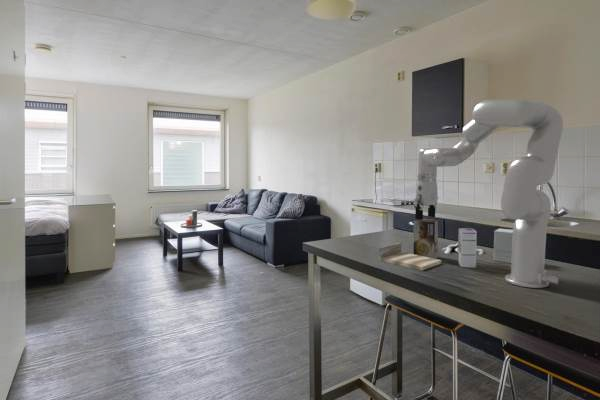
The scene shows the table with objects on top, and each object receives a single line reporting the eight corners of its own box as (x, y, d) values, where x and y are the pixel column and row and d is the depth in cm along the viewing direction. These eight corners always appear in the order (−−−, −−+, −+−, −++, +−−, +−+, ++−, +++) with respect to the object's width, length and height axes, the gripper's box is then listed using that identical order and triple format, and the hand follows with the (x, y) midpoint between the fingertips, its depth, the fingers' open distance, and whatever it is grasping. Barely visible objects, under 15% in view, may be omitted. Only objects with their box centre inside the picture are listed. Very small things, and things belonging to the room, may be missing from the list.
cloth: (456, 245, 183) (456, 233, 183) (492, 253, 168) (493, 239, 167) (426, 251, 171) (426, 238, 171) (463, 260, 156) (463, 246, 155)
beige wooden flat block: (441, 263, 149) (441, 250, 149) (421, 270, 140) (422, 256, 140) (397, 254, 165) (397, 242, 164) (377, 260, 156) (378, 247, 155)
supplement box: (517, 260, 154) (519, 230, 152) (512, 263, 148) (514, 232, 147) (497, 257, 159) (499, 227, 157) (492, 260, 153) (494, 230, 152)
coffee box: (438, 256, 160) (439, 219, 159) (434, 260, 155) (435, 221, 153) (416, 254, 165) (417, 218, 164) (412, 257, 160) (413, 220, 158)
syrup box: (476, 267, 143) (477, 230, 142) (460, 267, 144) (461, 230, 143) (472, 263, 149) (474, 228, 147) (457, 263, 150) (458, 227, 148)
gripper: (423, 179, 148) (421, 221, 150) (445, 177, 159) (443, 217, 162) (407, 178, 154) (406, 219, 156) (429, 176, 165) (428, 214, 167)
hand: (425, 218), depth 159 cm, fingers open, 9 cm apart
